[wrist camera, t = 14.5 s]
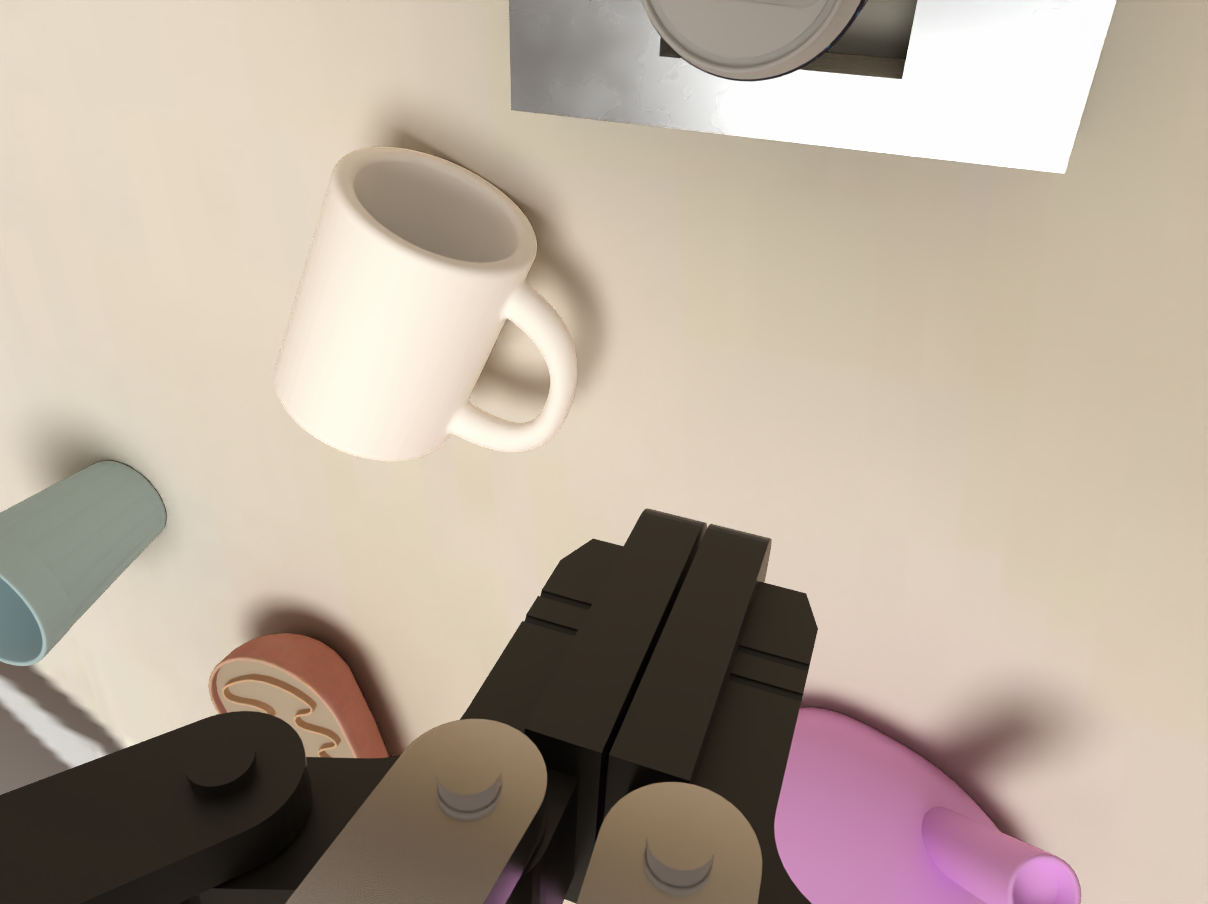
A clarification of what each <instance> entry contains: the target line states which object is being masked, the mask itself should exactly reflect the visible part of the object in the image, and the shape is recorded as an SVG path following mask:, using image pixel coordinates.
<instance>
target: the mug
mask: <svg viewBox="0 0 1208 904" xmlns="http://www.w3.org/2000/svg"><path fill="white" fill-rule="evenodd" d="M536 253H537V240H536V236H535V233H534V230H533V228H532V226H531V224H530V222H529V221H528V219H527V217H526V216H525V215H524V213H523V212H522V211H521V210H520V209H519V207H518V206H517V205H516V204H515V203H514V202H513V201H512V200H511V199H510V198H509V197H507V196H506V195H505V194H504V193H503V192H502V191H500V190H499V189H498V188H496V187H495V186H494V185H492V184H491V183H489V182H488V181H486V180H485V179H483V178H481V177H480V176H478V175H476V174H475V173H473V172H471V171H469V170H467V169H465V168H463V167H461V166H459V165H457V164H454V163H452V162H450V161H447V160H445V159H442V158H439V157H436V156H433V155H430V154H427V153H423V152H419V151H415V150H410V149H405V148H397V147H369V148H364V149H360V150H356V151H353V152H351V153H349V154H347V155H346V156H344V157H343V158H342V159H340V160H339V161H338V163H337V164H336V165H335V167H334V169H333V171H332V174H331V178H330V181H329V185H328V188H327V191H326V195H325V198H324V202H323V205H322V209H321V212H320V215H319V219H318V222H317V226H316V229H315V232H314V236H313V239H312V243H311V246H310V250H309V253H308V256H307V260H306V263H305V267H304V270H303V274H302V277H301V280H300V284H299V287H298V291H297V294H296V297H295V301H294V304H293V308H292V311H291V315H290V318H289V321H288V325H287V328H286V332H285V335H284V338H283V342H282V345H281V349H280V352H279V356H278V359H277V362H276V366H275V371H274V382H275V388H276V392H277V394H278V397H279V399H280V401H281V403H282V405H283V407H284V408H285V410H286V411H287V412H288V414H289V415H290V416H291V417H292V419H293V420H294V421H295V422H296V423H297V424H298V425H299V426H301V427H302V428H303V429H304V430H305V431H306V432H308V433H309V434H310V435H312V436H313V437H315V438H316V439H318V440H320V441H321V442H323V443H325V444H327V445H329V446H331V447H333V448H335V449H337V450H339V451H342V452H345V453H347V454H350V455H354V456H357V457H361V458H366V459H371V460H379V461H404V460H411V459H415V458H419V457H422V456H425V455H427V454H430V453H432V452H433V451H435V450H437V449H438V448H440V447H441V446H442V445H443V444H444V443H445V442H446V441H447V440H448V439H449V438H450V436H451V434H454V435H456V436H458V437H460V438H462V439H464V440H467V441H469V442H471V443H474V444H476V445H479V446H482V447H485V448H488V449H492V450H496V451H502V452H523V451H528V450H532V449H534V448H537V447H539V446H541V445H543V444H544V443H546V442H547V441H548V440H550V439H551V438H552V437H553V436H554V435H555V434H556V433H557V431H558V430H559V429H560V427H561V426H562V424H563V423H564V421H565V419H566V417H567V415H568V413H569V410H570V408H571V405H572V402H573V399H574V395H575V390H576V385H577V373H578V367H577V357H576V351H575V347H574V343H573V340H572V337H571V335H570V333H569V331H568V329H567V327H566V325H565V323H564V321H563V320H562V318H561V317H560V316H559V314H558V313H557V312H556V310H555V309H554V308H553V307H552V306H551V305H550V304H549V303H548V302H547V301H546V300H545V298H543V297H542V296H541V295H540V294H539V293H538V292H537V291H536V290H534V289H533V288H532V287H530V286H529V285H528V284H527V282H526V277H527V274H528V272H529V270H530V268H531V266H532V264H533V262H534V259H535V257H536ZM506 319H510V320H511V321H512V322H513V323H515V324H516V325H517V326H518V327H519V328H520V329H521V330H522V331H523V332H524V333H525V334H527V335H528V337H529V338H530V339H531V340H532V341H533V342H534V344H535V345H536V346H537V348H538V349H539V350H540V352H541V354H542V355H543V357H544V359H545V361H546V364H547V367H548V370H549V375H550V390H549V395H548V398H547V401H546V403H545V406H544V408H543V410H542V411H541V413H540V414H539V415H538V416H537V417H536V418H535V419H533V420H532V421H529V422H526V423H515V422H510V421H507V420H504V419H501V418H498V417H496V416H493V415H491V414H489V413H487V412H485V411H483V410H481V409H479V408H478V407H476V406H474V405H472V404H471V403H470V400H469V398H470V395H471V393H472V391H473V389H474V387H475V384H476V382H477V380H478V378H479V376H480V374H481V372H482V370H483V367H484V365H485V363H486V361H487V359H488V357H489V355H490V353H491V351H492V348H493V346H494V344H495V342H496V340H497V338H498V336H499V334H500V332H501V329H502V327H503V325H504V323H505V321H506Z"/></svg>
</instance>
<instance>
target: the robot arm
mask: <svg viewBox="0 0 1208 904" xmlns="http://www.w3.org/2000/svg"><path fill="white" fill-rule="evenodd" d="M770 549H771V539H770V538H766V537H762V536H758V535H754V534H750V533H746V532H742V531H738V530H734V529H729V528H725V527H721V526H717V525H713V524H710V525H709V526H708V528H707V524H706V523H704V522H700V521H696V520H692V519H688V518H684V517H680V516H676V515H672V514H668V513H664V512H660V511H656V510H651V509H645V510H644V511H643V512H642V514H641V516H640V517H639V519H638V521H637V523H636V525H635V527H634V528H633V530H632V532H631V534H630V536H629V538H628V539H627V541H626V543H625V545H624V547H623V546H620V545H616V544H612V543H608V542H604V541H600V540H596V539H592V540H590V541H589V542H587V543H586V544H584V545H583V546H581V547H580V548H578V549H577V550H575V551H574V552H572V553H571V554H569V555H568V556H566V557H565V558H563V559H562V560H560V562H559V563H558V565H557V567H556V568H555V570H554V571H553V573H552V575H551V576H550V578H549V579H548V581H547V583H546V584H545V586H544V587H543V589H542V592H541V596H538V597H537V599H536V600H535V602H534V603H533V605H532V607H531V608H530V610H529V611H528V613H527V615H526V619H525V621H522V623H521V624H520V626H519V627H518V629H517V631H516V632H515V634H514V635H513V637H512V639H511V640H510V642H509V643H508V645H507V647H506V648H505V650H504V651H503V653H502V655H501V656H500V658H499V659H498V661H497V663H496V664H495V666H494V667H493V669H492V670H491V672H490V674H489V675H488V677H487V678H486V680H485V682H484V683H483V685H482V686H481V688H480V690H479V691H478V693H477V694H476V696H475V698H474V699H473V701H472V702H471V704H470V706H469V707H468V709H467V710H466V712H465V713H464V715H463V716H462V717H461V719H460V720H457V721H453V722H449V723H445V724H442V725H440V726H438V727H435V728H433V729H431V730H429V731H428V732H426V733H424V734H422V735H421V736H420V737H418V738H417V739H416V740H415V741H413V742H412V743H411V744H410V745H409V746H408V747H407V749H406V750H405V751H404V752H403V753H402V754H401V755H399V756H393V757H386V758H332V757H306V754H305V749H304V746H303V743H302V740H301V738H300V737H299V735H298V733H297V732H296V731H295V730H294V729H293V728H292V727H291V726H290V725H289V724H288V723H286V722H285V721H283V720H282V719H280V718H278V717H275V716H273V715H270V714H266V713H262V712H255V711H236V712H228V713H223V714H218V715H215V716H211V717H208V718H205V719H202V720H200V721H197V722H194V723H192V724H189V725H186V726H184V727H181V728H178V729H176V730H173V731H170V732H168V733H165V734H162V735H160V736H157V737H154V738H152V739H149V740H146V741H144V742H141V743H138V744H136V745H133V746H130V747H128V748H125V749H122V750H120V751H117V752H114V753H112V754H109V755H106V756H104V757H101V758H98V759H95V760H93V761H90V762H87V763H85V764H82V765H79V766H77V767H74V768H71V769H69V770H66V771H64V772H61V773H58V774H55V775H53V776H50V777H48V778H45V779H42V780H39V781H37V782H34V783H31V784H29V785H26V786H24V787H21V788H18V789H16V790H13V791H10V792H7V793H5V794H2V795H0V904H562V903H563V901H564V899H566V900H569V901H571V902H574V903H577V904H812V903H811V902H810V901H809V900H808V899H807V898H806V897H805V896H804V895H803V894H802V893H801V892H800V890H799V889H798V888H797V886H796V885H795V884H794V882H793V881H792V880H791V878H790V876H789V875H788V873H787V871H786V869H785V868H784V866H783V863H782V861H781V858H780V856H779V853H778V850H777V845H776V841H775V831H774V822H775V815H776V809H777V805H778V800H779V796H780V792H781V787H782V783H783V779H784V774H785V770H786V766H787V761H788V757H789V752H790V748H791V744H792V739H793V735H794V731H795V726H796V722H797V718H798V713H799V709H800V705H801V700H802V696H803V691H804V687H805V683H806V678H807V674H808V670H809V665H810V661H811V657H812V652H813V648H814V644H815V639H816V635H817V630H818V628H817V625H816V622H815V619H814V616H813V613H812V610H811V607H810V604H809V601H808V598H807V595H806V593H802V592H798V591H794V590H790V589H786V588H782V587H779V586H775V585H771V584H767V583H764V582H765V577H766V571H767V566H768V561H769V555H770Z"/></svg>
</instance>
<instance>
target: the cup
mask: <svg viewBox="0 0 1208 904" xmlns="http://www.w3.org/2000/svg"><path fill="white" fill-rule="evenodd" d="M165 522H166V512H165V508H164V505H163V502H162V500H161V498H160V496H159V495H158V493H157V492H156V490H155V489H154V488H153V486H152V485H151V484H150V483H149V482H148V481H147V480H146V479H145V478H144V477H143V476H142V475H141V474H139V473H138V472H137V471H135V470H134V469H132V468H130V467H128V466H126V465H124V464H122V463H118V462H115V461H101V462H97V463H95V464H93V465H91V466H89V467H87V468H85V469H83V470H81V471H79V472H77V473H75V474H73V475H71V476H69V477H67V478H65V479H64V480H62V481H60V482H58V483H56V484H54V485H52V486H50V487H48V488H46V489H45V490H43V491H41V492H39V493H37V494H35V495H33V496H31V497H29V498H27V499H26V500H24V501H22V502H20V503H18V504H16V505H14V506H12V507H10V508H8V509H7V510H5V511H3V512H1V513H0V661H2V662H5V663H8V664H12V665H18V666H28V665H33V664H36V663H37V662H39V661H40V660H42V659H43V658H44V657H45V656H46V654H47V653H48V652H49V651H50V650H51V649H52V648H53V647H54V646H55V645H56V644H57V643H58V642H59V641H60V640H61V638H62V637H63V636H64V635H65V634H66V633H67V632H68V631H69V629H70V628H71V627H72V626H73V624H74V623H75V622H76V621H77V620H78V619H79V618H80V617H81V616H82V615H83V614H84V613H85V612H86V611H87V610H88V609H89V608H90V606H91V605H92V604H93V603H94V602H95V601H96V600H97V599H98V598H99V597H100V596H101V595H102V594H103V593H104V592H105V591H106V590H107V588H108V587H109V586H110V585H111V584H112V583H113V582H114V581H115V580H116V579H117V578H118V577H119V576H120V575H121V574H122V573H123V572H124V570H125V569H126V568H127V567H128V566H129V565H130V564H131V563H132V562H133V561H134V560H135V559H136V558H137V557H138V556H139V555H140V554H141V552H142V551H143V550H144V549H145V548H146V547H147V546H148V545H149V544H150V543H151V542H152V541H153V540H154V539H155V537H156V536H157V535H158V534H159V533H160V532H161V531H162V530H163V528H164V526H165Z"/></svg>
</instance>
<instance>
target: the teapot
mask: <svg viewBox="0 0 1208 904" xmlns="http://www.w3.org/2000/svg"><path fill="white" fill-rule="evenodd" d="M774 831H775V841H776V845H777V850H778V853H779V856H780V858H781V861H782V863H783V866H784V868H785V869H786V871H787V873H788V875H789V876H790V878H791V880H792V881H793V882H794V884H795V885H796V886H797V888H798V889H799V890H800V892H801V893H802V894H803V895H804V896H805V897H806V898H807V899H808V900H809V901H810V902H811V903H812V904H1080V903H1081V888H1080V884H1079V880H1078V878H1077V876H1076V874H1075V872H1074V870H1073V869H1072V868H1071V866H1070V865H1069V864H1067V863H1066V862H1065V861H1064V860H1062V859H1060V858H1059V857H1057V856H1055V855H1052V854H1050V853H1048V852H1045V851H1043V850H1041V849H1039V848H1036V847H1034V846H1032V845H1029V844H1027V843H1025V842H1023V841H1020V840H1018V839H1016V838H1013V837H1011V836H1009V835H1006V834H1004V833H1002V832H1000V830H999V829H998V828H997V827H996V825H995V824H994V823H993V822H992V821H991V819H990V818H989V817H988V816H987V815H986V814H985V813H984V811H983V810H982V809H981V808H980V807H979V806H978V805H977V804H976V803H975V802H974V800H973V799H972V798H971V797H970V796H969V795H968V794H967V793H966V792H965V791H964V790H963V789H962V788H961V787H960V786H959V785H958V784H956V783H955V782H954V781H953V780H952V779H951V778H950V777H948V776H947V775H946V774H945V773H944V772H942V771H941V770H940V769H939V768H937V767H936V766H935V765H933V764H932V763H930V762H929V761H928V760H926V759H925V758H923V757H922V756H920V755H919V754H917V753H916V752H914V751H912V750H911V749H909V748H908V747H906V746H904V745H903V744H901V743H899V742H897V741H896V740H894V739H892V738H890V737H889V736H887V735H885V734H883V733H881V732H879V731H878V730H876V729H874V728H872V727H870V726H868V725H866V724H864V723H862V722H860V721H858V720H855V719H853V718H851V717H849V716H846V715H844V714H841V713H838V712H835V711H831V710H828V709H823V708H816V707H800V709H799V713H798V718H797V722H796V726H795V731H794V735H793V739H792V744H791V748H790V752H789V757H788V761H787V766H786V770H785V774H784V779H783V783H782V787H781V792H780V796H779V800H778V805H777V809H776V815H775V822H774Z"/></svg>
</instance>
